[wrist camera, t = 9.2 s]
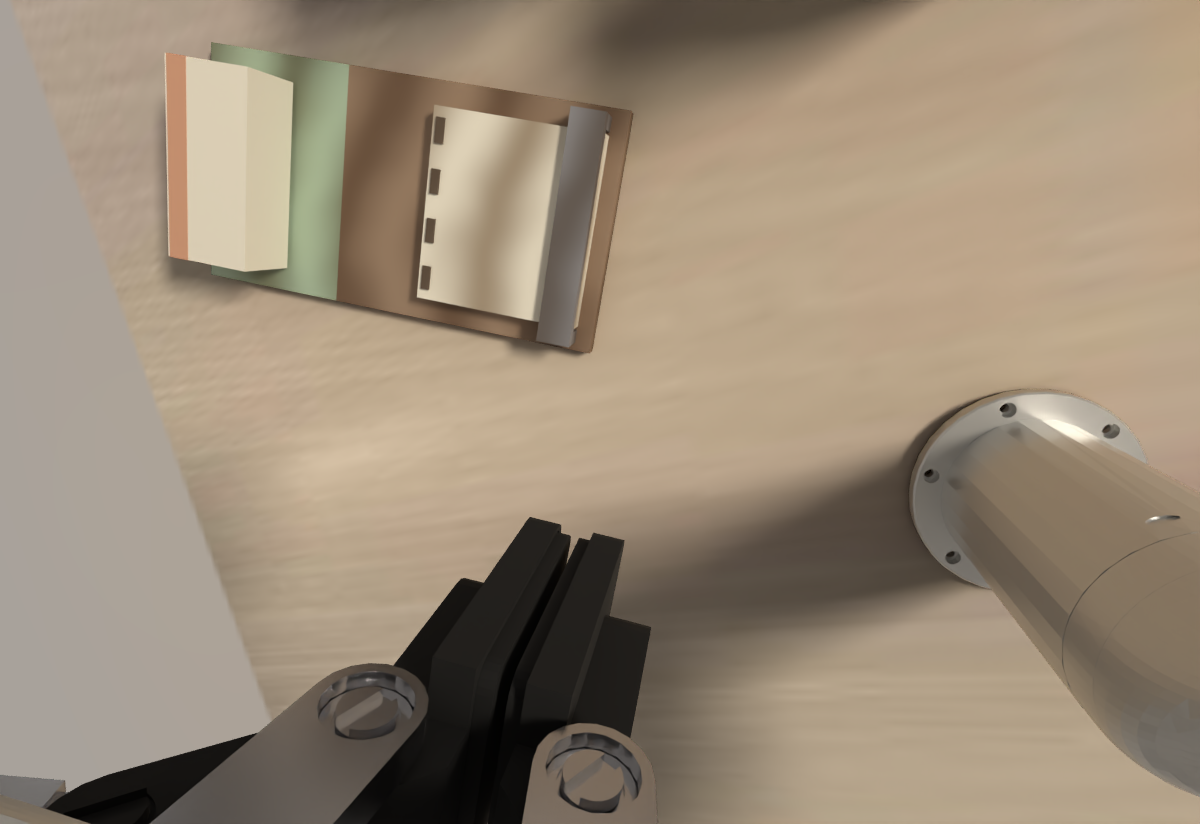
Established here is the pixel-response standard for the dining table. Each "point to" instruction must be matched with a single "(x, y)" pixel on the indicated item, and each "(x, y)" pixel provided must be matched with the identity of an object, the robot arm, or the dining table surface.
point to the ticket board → (446, 198)
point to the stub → (227, 163)
